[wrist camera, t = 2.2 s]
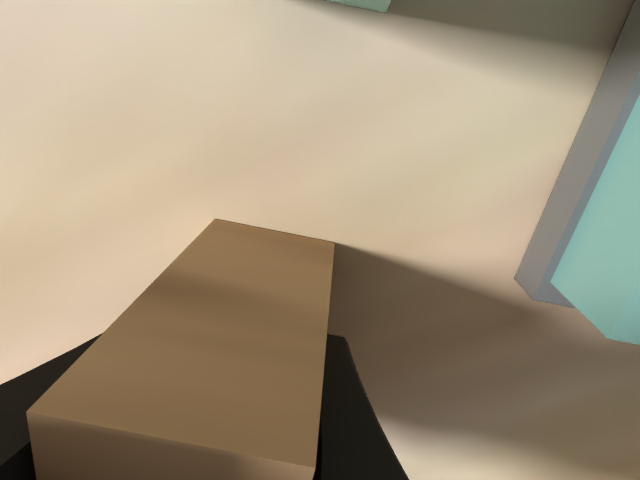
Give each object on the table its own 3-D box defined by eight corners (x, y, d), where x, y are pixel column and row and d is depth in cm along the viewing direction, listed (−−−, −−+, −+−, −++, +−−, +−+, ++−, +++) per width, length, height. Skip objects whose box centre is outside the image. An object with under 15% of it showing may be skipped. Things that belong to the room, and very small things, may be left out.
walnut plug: (301, 395, 11) (256, 690, 6) (201, 375, 11) (62, 654, 6) (335, 242, 9) (316, 467, 4) (214, 218, 9) (26, 412, 4)
